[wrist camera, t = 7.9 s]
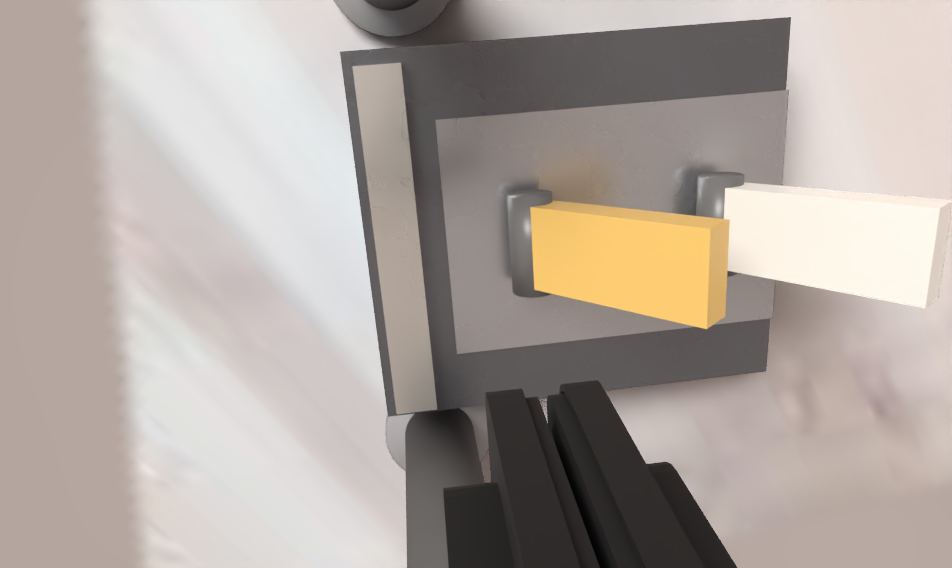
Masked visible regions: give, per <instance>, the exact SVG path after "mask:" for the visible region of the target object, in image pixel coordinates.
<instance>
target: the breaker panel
mask: <svg viewBox="0 0 952 568" xmlns="http://www.w3.org/2000/svg"><path fill="white" fill-rule="evenodd" d="M790 22H791V17H788V18H775V19H762V20H749V21H736V22H723V23H710V24H697V25H684V26H671V27H658V28H645V29H632V30H619V31H606V32H593V33H580V34H566V35H553V36H540V37H527V38H514V39H501V40H488V41H475V42H462V43H449V44H436V45H423V46H410V47H397V48H384V49H371V50H357V51H344V52H340V54H341V62H342V70H343V77H344V85H345V92H346V100H347V108H348V115H349V123H350V130H351V138H352V146H353V153H354V161H355V168H356V176H357V184H358V191H359V199H360V206H361V214H362V222H363V229H364V237H365V244H366V252H367V260H368V267H369V275H370V282H371V290H372V298H373V305H374V313H375V320H376V328H377V336H378V343H379V351H380V358H381V366H382V373H383V381H384V389H385V396H386V404H387V411H388V417H390V416H399V415H407V414H415V413H424V412H432V411H440V410H448V409H457V408H465V407H473V406H482V405H485V392H493V391H502V390H511V389H520V388H521V389H522V390H523V392H524V395H525V398H528V397H538V399H540V398H547V397H548V395H555V394H559V390H560V385H561V384H566V383H575V382H584V381H593V380H598V381H599V382H600V383H601V385H602V387H603V388H604V390H605V391H606V390H614V389H623V388H631V387H639V386H648V385H656V384H664V383H672V382H681V381H689V380H697V379H706V378H714V377H722V376H730V375H739V374H747V373H755V372H764V371H766V366H767V351H768V337H769V323H770V318H773V304H774V290H775V280H774V279H768V278H763V277H758V276H753V275H748V274H742V273H738V274H737V275H734V276H730V277H727V290H726V311H725V317H724V318H722V319H721V320H719V321H718V322H716V323H715V324H714V325H712V326H711V327H709V328H708V329H704V328H699V327H695V326H690V325H686V324H682V323H677V322H673V321H669V320H664V319H660V318H656V317H651V316H647V315H642V314H638V313H634V312H629V311H625V310H621V309H616V308H612V307H608V306H603V305H599V304H594V303H590V302H586V301H581V300H577V299H573V298H568V297H564V296H560V295H555V294H551V295H548V296H544V297H537V298H526V297H520V296H517V295H515V294H513V292H512V275H511V259H510V242H509V226H508V209H507V194H509V193H511V192H515V191H520V190H531V189H540V190H549V191H551V192H552V200H554V201H563V202H573V203H582V204H591V205H600V206H609V207H618V208H628V209H637V210H646V211H655V212H664V213H673V214H683V215H692V216H696V201H697V176H698V175H699V174H703V173H709V172H737V173H742V174H744V175H745V176H744V182H746V183H757V184H769V185H781V186H782V178H783V164H784V150H785V136H786V122H787V108H788V94H789V90H786V80H787V65H788V51H789V37H790Z"/></svg>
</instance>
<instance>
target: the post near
mask: <svg viewBox="0 0 952 568" xmlns="http://www.w3.org/2000/svg"><path fill="white" fill-rule="evenodd" d="M334 2H335V3H336V5H337V6H338V7H339V9H340V10H341V11H342V12H343V13H344V14H345V15H346V16H347V17H348V18H349V19H350V20H351V21H352V22H353V23H355V24H356V25H357V26H359V27H361V28H363V29H364V30H366V31H369V32H371V33H374V34H377V35H381V36H388V37H399V36H406V35H409V34H413V33H415V32H418V31H420V30H422V29H423V28H425V27H427V26H428V25H429V24H431V23H432V22H433V21H434V20H435V19H436V18H437V17H438V16H439V15H440V14H441V12H442V11H443V10H444V8H445V7H446V5H447V3H448V2H449V0H334Z"/></svg>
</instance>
